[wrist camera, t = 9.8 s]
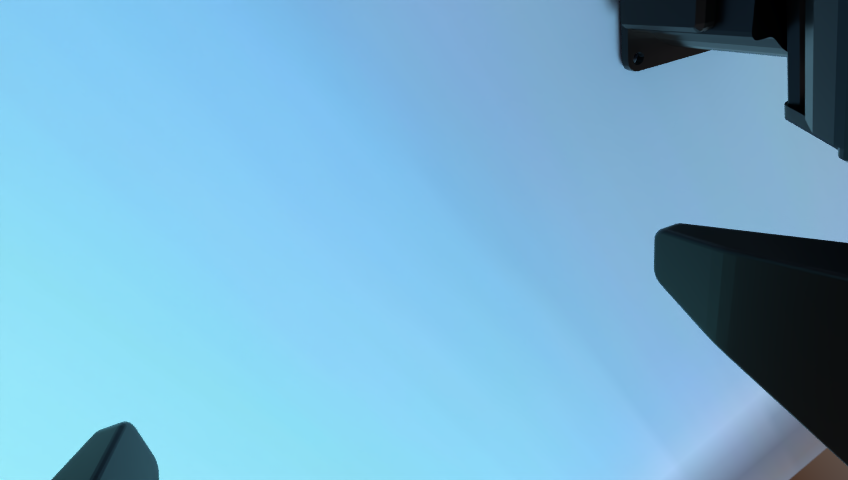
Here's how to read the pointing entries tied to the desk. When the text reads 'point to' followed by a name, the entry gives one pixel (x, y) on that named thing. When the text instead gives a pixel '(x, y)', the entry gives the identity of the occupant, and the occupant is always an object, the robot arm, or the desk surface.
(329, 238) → the desk surface
